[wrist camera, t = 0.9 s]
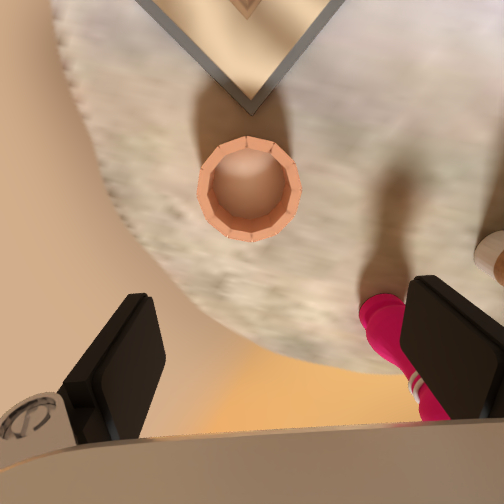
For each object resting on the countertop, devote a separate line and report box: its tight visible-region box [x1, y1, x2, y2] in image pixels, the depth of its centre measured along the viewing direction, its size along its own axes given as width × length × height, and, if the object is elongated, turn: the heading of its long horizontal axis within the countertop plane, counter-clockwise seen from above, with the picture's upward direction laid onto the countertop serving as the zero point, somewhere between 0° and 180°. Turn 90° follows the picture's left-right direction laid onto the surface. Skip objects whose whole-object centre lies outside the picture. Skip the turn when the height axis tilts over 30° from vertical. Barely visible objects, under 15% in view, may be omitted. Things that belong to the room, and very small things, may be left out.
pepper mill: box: [359, 293, 451, 421], centre depth 31 cm, size 7×7×20 cm
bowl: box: [197, 136, 302, 242], centre depth 30 cm, size 10×10×6 cm
